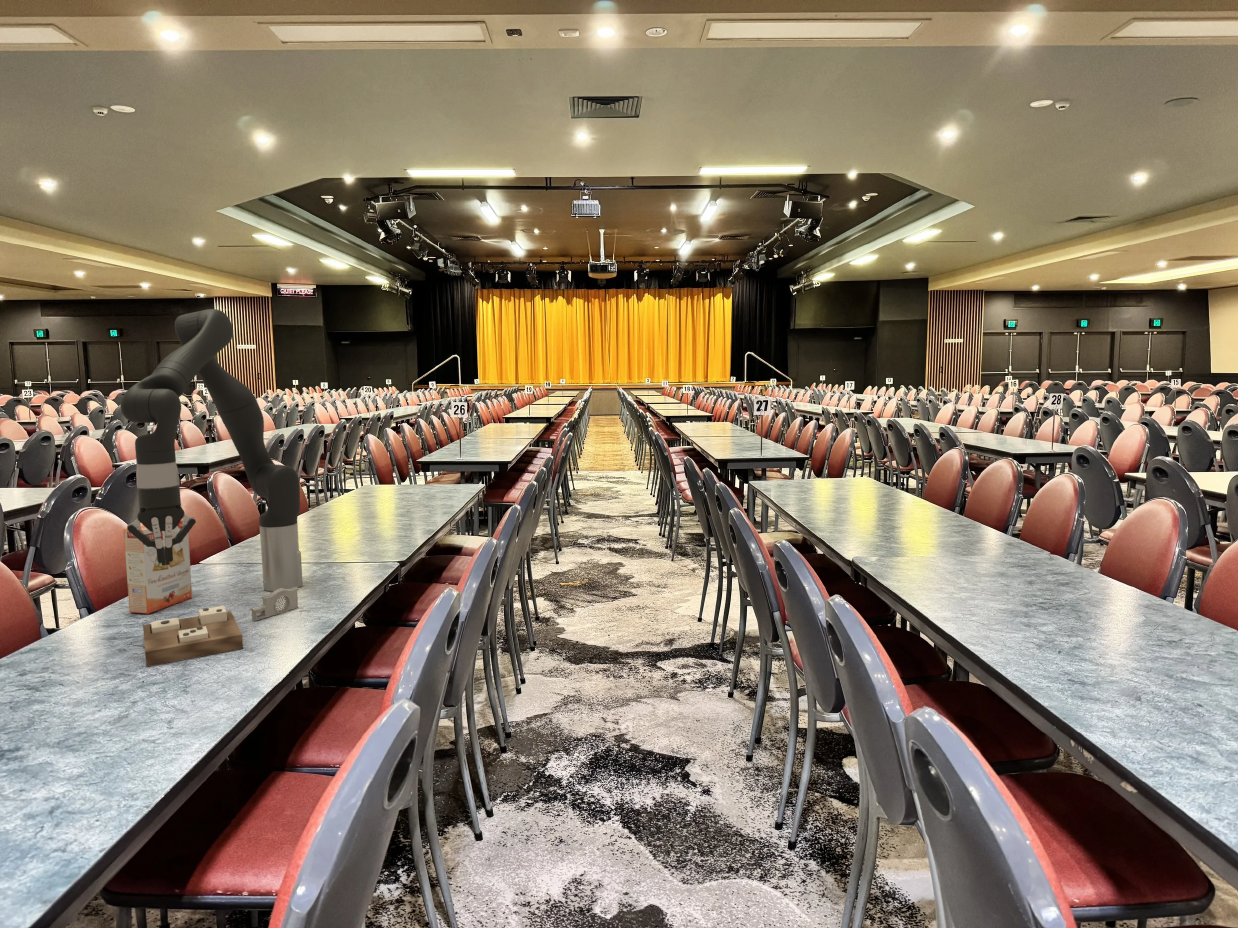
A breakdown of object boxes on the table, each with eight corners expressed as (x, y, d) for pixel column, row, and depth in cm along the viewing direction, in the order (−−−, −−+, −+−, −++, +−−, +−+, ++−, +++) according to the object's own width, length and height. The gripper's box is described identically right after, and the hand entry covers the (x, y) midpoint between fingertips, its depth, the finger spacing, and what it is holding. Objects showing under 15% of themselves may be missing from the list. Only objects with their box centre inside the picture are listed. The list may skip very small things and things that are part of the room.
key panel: (231, 623, 168) (231, 610, 168) (243, 648, 153) (242, 634, 152) (144, 638, 159) (142, 625, 159) (146, 666, 143) (145, 651, 143)
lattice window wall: (255, 621, 170) (253, 597, 169) (250, 620, 170) (248, 596, 170) (300, 607, 180) (298, 584, 179) (295, 606, 181) (293, 583, 180)
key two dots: (225, 620, 166) (223, 604, 165) (227, 626, 162) (226, 610, 161) (199, 624, 163) (198, 608, 162) (201, 631, 159) (200, 614, 158)
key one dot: (179, 632, 161) (177, 616, 160) (180, 639, 157) (179, 622, 156) (152, 637, 158) (150, 620, 158) (153, 644, 154) (151, 626, 153)
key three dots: (206, 642, 155) (205, 624, 155) (209, 649, 151) (207, 631, 151) (179, 646, 152) (178, 629, 152) (181, 654, 148) (179, 636, 148)
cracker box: (149, 614, 175) (142, 529, 172) (128, 613, 176) (121, 528, 174) (194, 597, 188) (188, 517, 186) (174, 596, 190) (168, 517, 187)
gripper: (193, 479, 161) (199, 556, 163) (120, 484, 153) (128, 565, 156) (196, 483, 155) (202, 563, 157) (120, 489, 147) (128, 573, 149)
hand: (165, 564), depth 156 cm, fingers closed
